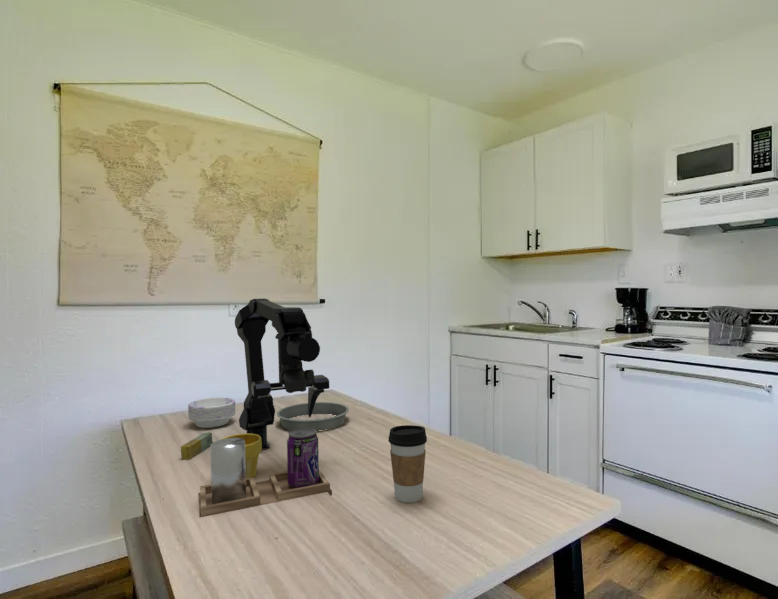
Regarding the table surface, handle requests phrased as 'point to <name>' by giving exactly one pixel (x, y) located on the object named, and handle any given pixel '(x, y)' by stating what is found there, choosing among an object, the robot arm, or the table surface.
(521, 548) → the table surface
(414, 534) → the table surface
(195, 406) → the paper bowls
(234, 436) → the plant pot
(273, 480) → the wooden tray
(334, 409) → the cake pan
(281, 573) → the table surface
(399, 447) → the coffee cup
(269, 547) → the table surface
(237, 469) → the seated billet
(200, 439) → the medication box
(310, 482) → the beverage can
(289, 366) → the robot arm
